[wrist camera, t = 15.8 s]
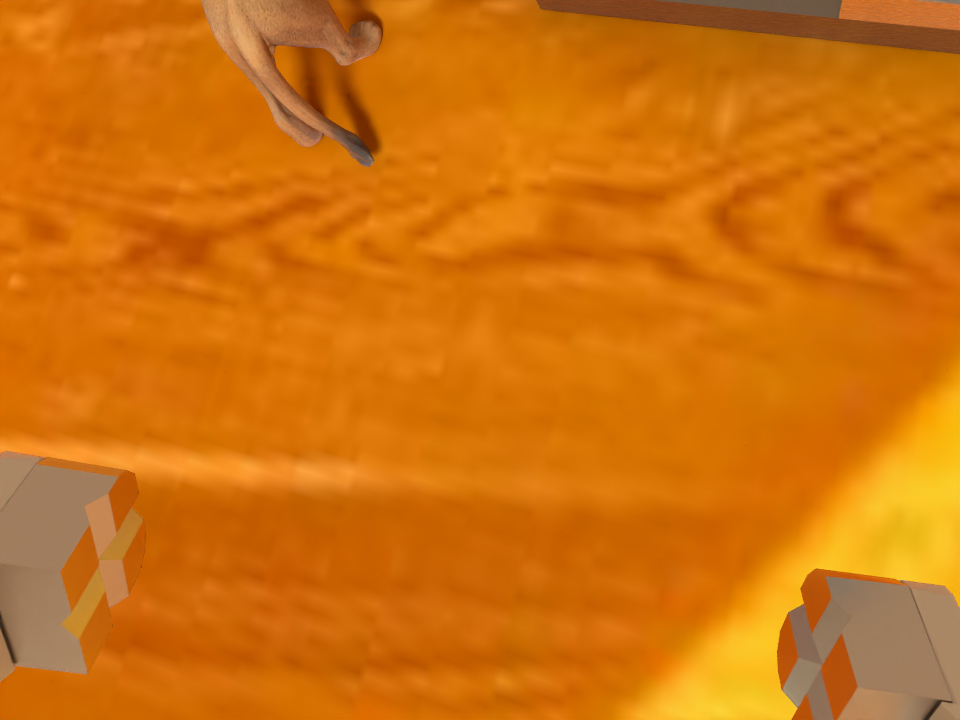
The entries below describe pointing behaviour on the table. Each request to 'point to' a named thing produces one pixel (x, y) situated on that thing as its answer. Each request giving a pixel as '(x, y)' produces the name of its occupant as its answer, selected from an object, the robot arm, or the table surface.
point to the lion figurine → (299, 23)
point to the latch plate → (799, 18)
